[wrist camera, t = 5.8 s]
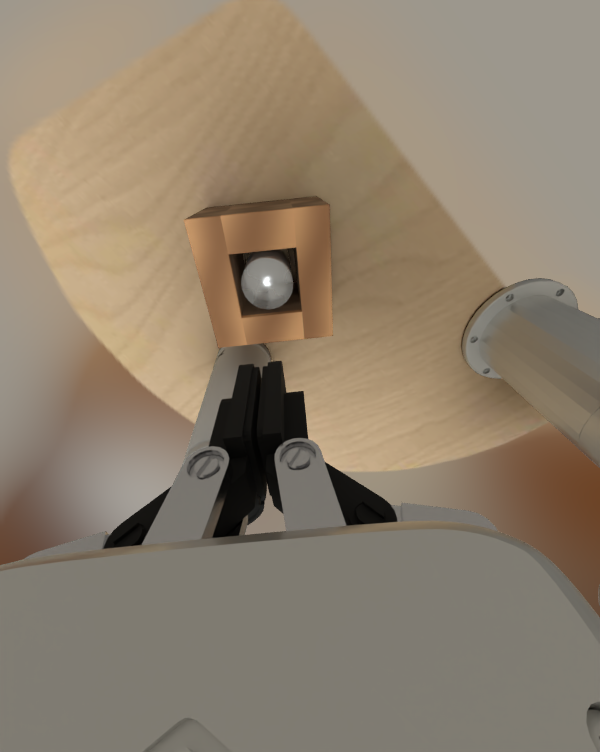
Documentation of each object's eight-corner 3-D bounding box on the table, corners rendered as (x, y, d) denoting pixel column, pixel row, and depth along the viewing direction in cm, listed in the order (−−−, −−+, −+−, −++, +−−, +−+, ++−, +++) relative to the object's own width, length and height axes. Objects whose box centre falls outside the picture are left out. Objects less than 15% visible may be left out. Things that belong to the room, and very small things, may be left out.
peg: (287, 235, 29) (290, 255, 22) (291, 277, 31) (295, 306, 25) (245, 240, 29) (236, 260, 22) (252, 281, 31) (246, 311, 25)
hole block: (316, 196, 27) (329, 204, 21) (321, 302, 33) (333, 335, 26) (206, 207, 27) (183, 219, 21) (230, 312, 33) (218, 348, 26)
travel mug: (207, 341, 35) (145, 496, 18) (263, 330, 34) (252, 478, 18) (224, 384, 38) (185, 547, 22) (275, 375, 38) (275, 533, 21)
